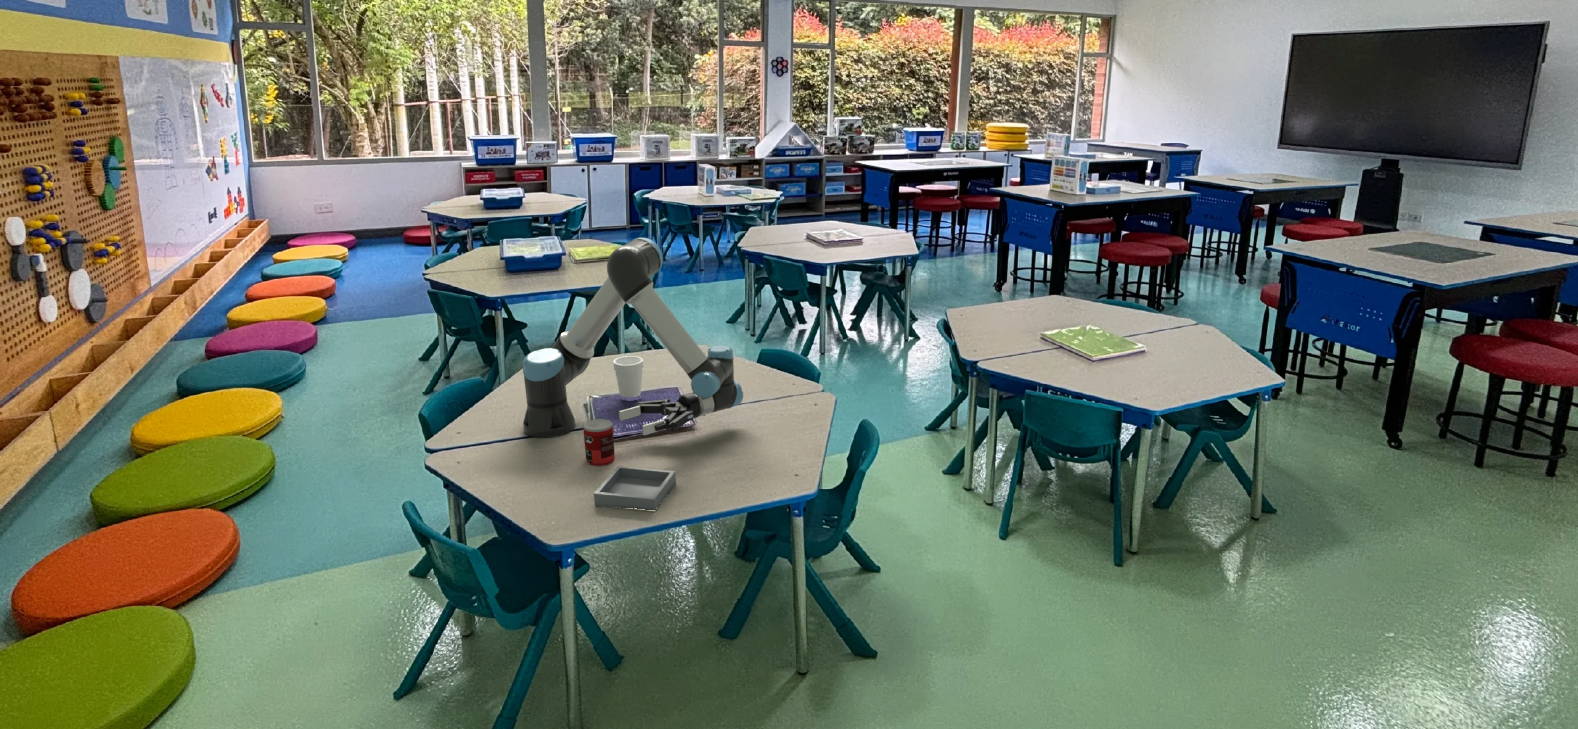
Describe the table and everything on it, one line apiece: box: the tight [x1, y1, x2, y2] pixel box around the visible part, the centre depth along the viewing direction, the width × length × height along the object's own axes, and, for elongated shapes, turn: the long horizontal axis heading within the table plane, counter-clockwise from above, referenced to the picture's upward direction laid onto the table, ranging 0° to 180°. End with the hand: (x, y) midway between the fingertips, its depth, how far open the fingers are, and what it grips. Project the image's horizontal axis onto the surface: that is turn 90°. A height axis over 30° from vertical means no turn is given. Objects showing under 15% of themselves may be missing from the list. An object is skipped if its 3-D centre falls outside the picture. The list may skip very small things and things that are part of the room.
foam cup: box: [613, 355, 644, 397], centre depth 298 cm, size 10×9×13 cm
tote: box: [593, 465, 677, 511], centre depth 236 cm, size 16×16×4 cm
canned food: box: [582, 418, 616, 467], centre depth 254 cm, size 8×8×11 cm
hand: (631, 423), depth 258 cm, fingers open, 13 cm apart
